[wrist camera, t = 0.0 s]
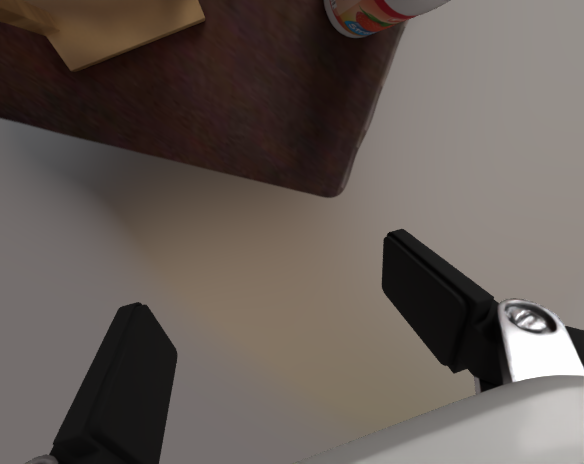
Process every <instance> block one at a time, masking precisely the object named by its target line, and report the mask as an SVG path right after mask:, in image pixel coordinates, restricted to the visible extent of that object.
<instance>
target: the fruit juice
mask: <svg viewBox="0 0 584 464" xmlns="http://www.w3.org/2000/svg"><path fill="white" fill-rule="evenodd" d="M448 1H450V0H324V6H325V10H326V13H327V16H328V18H329V20H330V22H331V23H332V25H333V26H334V28H335V29H336V30H337V31H338V32H340V33H341V34H343V35H345V36H347V37H351V38H362V37H366V36H368V35H371V34H373V33H376V32H378V31H381V30H383V29H386V28H388V27H391V26H393V25H396V24H398V23H401V22H403V21H406V20H408V19H411V18H413V17H416V16H418V15H421V14H424V13H427V12H429V11H431V10H433V9H435V8H437V7H439V6H441V5H443V4H445V3H447V2H448Z"/></svg>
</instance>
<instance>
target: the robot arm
mask: <svg viewBox="0 0 584 464" xmlns="http://www.w3.org/2000/svg"><path fill="white" fill-rule="evenodd" d="M382 289H383V291H384V293H385V295H386V296H387V297H388V298H389V300H390V301H391V302H392V303H393V305H394V306H395V307H396V308H397V310H398V311H399V312H400V313H401V315H402V316H403V317H404V318H405V320H406V321H407V322H408V323H409V324H410V326H411V327H412V328H413V330H414V331H415V332H416V333H417V335H418V336H419V337H420V338H421V339H422V341H423V342H424V343H425V344H426V346H427V347H428V348H429V349H430V351H431V352H432V353H433V354H434V356H435V357H436V358H437V359H438V361H439V362H440V363H441V364H443V365H445V366H448V367H449V368H450V369H451V371H452V372H453V373H457V372H460V371H462V370H465V369H468V370H469V371H470V372H471V374H472V375H473V376H474V381H475V391H476V395H473V396H470V397H468V398H465V399H462V400H459V401H456V402H453V403H451V404H448V405H446V406H443V407H440V408H438V409H435V410H432V411H430V412H427V413H424V414H422V415H419V416H416V417H414V418H411V419H409V420H406V421H403V422H400V423H398V424H395V425H393V426H390V427H387V428H385V429H382V430H379V431H377V432H374V433H372V434H369V435H367V436H364V437H361V438H358V439H356V440H353V441H351V442H348V443H345V444H343V445H340V446H337V447H335V448H332V449H330V450H327V451H324V452H322V453H320V454H317V455H314V456H311V457H309V458H307V459H304V460H301V461H298V462H296V463H293V464H584V330H579V329H576V328H572V327H568V326H564V324H563V322H562V321H561V320H560V318H559V317H558V316H557V315H556V314H554V313H553V312H552V311H550V310H549V309H547V308H545V307H544V306H542V305H539V304H537V303H534V302H532V301H528V300H524V299H506V300H504V301H502V302H500V304H499V303H498V302H496V301H495V300H494V297H493V296H492V295H490V294H489V293H488V292H486V291H485V290H484V289H482V288H481V287H480V286H479V285H477V284H476V283H474V282H473V281H472V280H471V279H469V278H468V277H466V276H465V275H464V274H463V273H461V272H460V271H459V270H457V269H456V268H454V267H453V266H452V265H450V264H449V263H448V262H447V261H445V260H444V259H443V258H441V257H440V256H439V255H437V254H436V253H435V252H433V251H432V250H431V249H429V248H428V247H427V246H425V245H424V244H423V243H421V242H420V241H419V240H417V239H416V238H415V237H413V236H412V235H411V234H410V233H408V232H407V231H405V230H404V229H400V230H396V231H392V232H389V233H388V234H387V237H385V238H384V244H383V268H382ZM176 363H177V351H176V348H175V347H174V345H173V344H172V342H171V341H170V339H169V338H168V336H167V335H166V333H165V332H164V330H163V329H162V327H161V326H160V324H159V323H158V321H157V320H156V318H155V317H154V315H153V313H152V312H151V310H150V309H149V307H148V306H147V305H142V304H141V303H139V302H137V303H133V304H129V305H126V306H122V307H120V308H119V309H118V311H117V313H116V315H115V317H114V319H113V321H112V323H111V325H110V327H109V329H108V331H107V333H106V336H105V337H104V339H103V341H102V344H101V346H100V348H99V350H98V352H97V354H96V356H95V358H94V360H93V362H92V364H91V366H90V368H89V370H88V372H87V375H86V376H85V378H84V380H83V382H82V385H81V387H80V389H79V391H78V393H77V395H76V397H75V399H74V401H73V403H72V405H71V407H70V409H69V411H68V413H67V415H66V417H65V420H64V421H63V424H62V425H61V427H60V429H59V432H58V434H57V436H56V438H55V440H54V442H53V445H54V446H53V448H52V450H51V452H50V454H49V455H43V456H39V457H36V458H34V459H32V460H30V461H28V462H26V463H25V464H159V459H160V454H161V448H162V443H163V437H164V431H165V425H166V420H167V414H168V408H169V402H170V396H171V391H172V385H173V380H174V374H175V368H176Z"/></svg>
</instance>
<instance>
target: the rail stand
mask: <svg viewBox="0 0 584 464" xmlns="http://www.w3.org/2000/svg"><path fill="white" fill-rule="evenodd" d="M0 21H1V22H4V23H7V24H10V25H13V26H16V27H19V28H22V29H25V30H28V31H32V32H35V33H38V34H41V35H44V36H46V37H47V38H48V39H49V41H50V42H51V44H52V45H53V47H54V48H55V49H56V51H57V52H58V54H59V55H60V57H61V58H62V59H63V61H64V62H65V64H66V65H67V67H68V68H69V69H70V71H74V72H77V71H80V70H82V69H85V68H87V67H90V66H92V65H95V64H97V63H100V62H103V61H105V60H108V59H110V58H113V57H115V56H118V55H120V54H123V53H125V52H128V51H130V50H133V49H135V48H138V47H140V46H143V45H145V44H148V43H150V42H153V41H155V40H158V39H161V38H163V37H166V36H168V35H171V34H173V33H176V32H178V31H181V30H183V29H186V28H188V27H191V26H193V25H196V24H198V23H201V22H203V21H205V16H204V14H203V11H202V9H201V7H200V4H199V2H198V0H0Z"/></svg>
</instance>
